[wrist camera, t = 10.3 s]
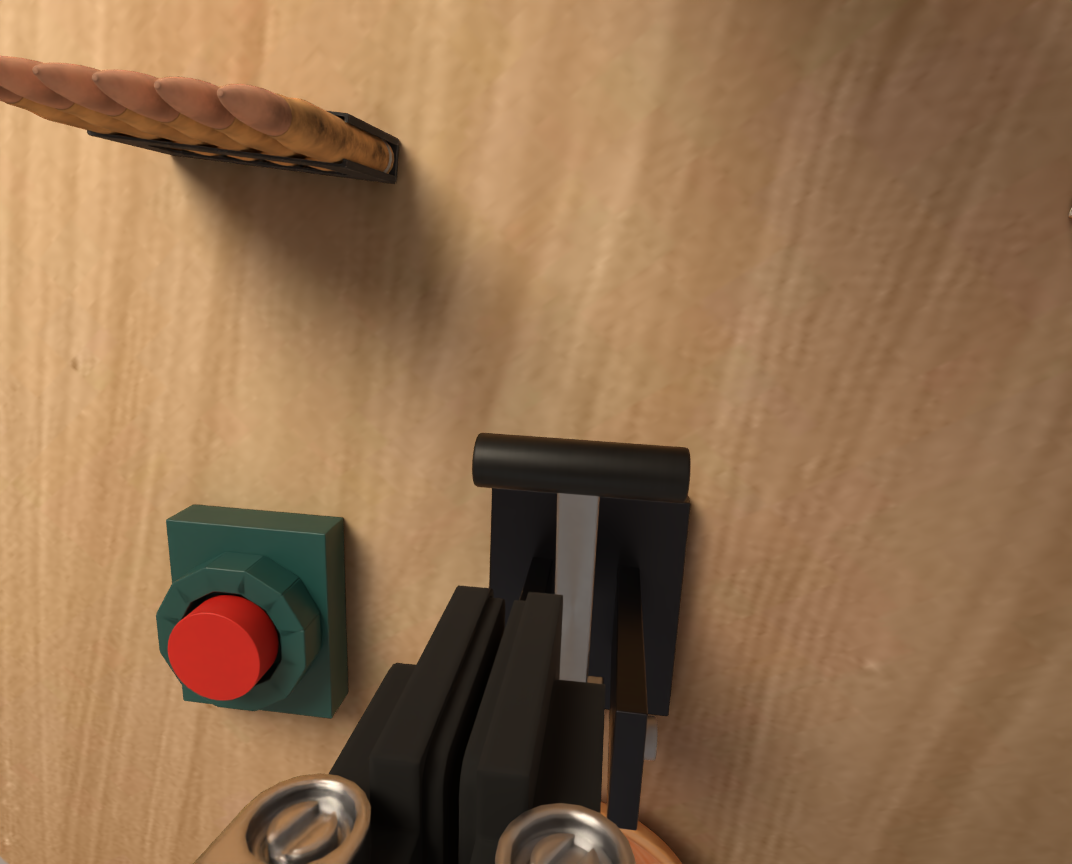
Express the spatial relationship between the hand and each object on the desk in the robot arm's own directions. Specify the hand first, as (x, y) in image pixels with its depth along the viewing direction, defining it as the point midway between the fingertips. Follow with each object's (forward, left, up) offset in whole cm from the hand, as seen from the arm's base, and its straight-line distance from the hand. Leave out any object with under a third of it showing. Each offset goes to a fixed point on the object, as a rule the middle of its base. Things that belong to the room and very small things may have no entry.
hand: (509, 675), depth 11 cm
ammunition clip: (-18, -1, -21) cm, 28 cm away
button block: (-5, -19, -21) cm, 29 cm away
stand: (+6, -7, -21) cm, 23 cm away
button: (-5, -19, -17) cm, 26 cm away
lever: (+3, -3, -11) cm, 11 cm away
